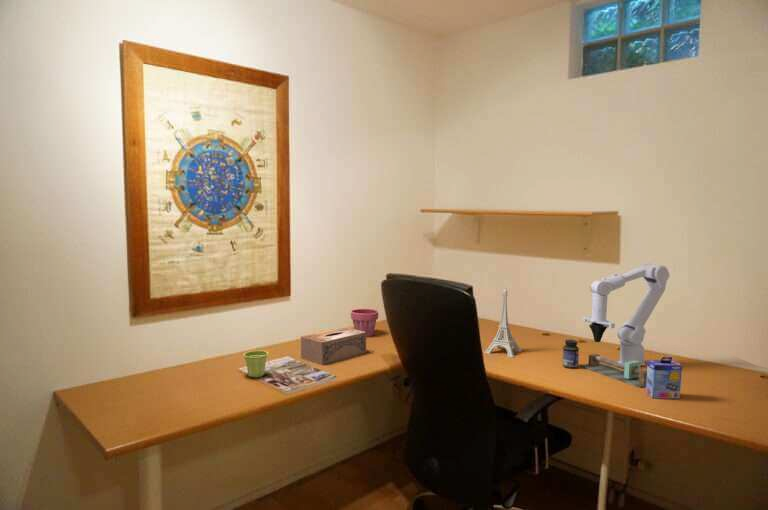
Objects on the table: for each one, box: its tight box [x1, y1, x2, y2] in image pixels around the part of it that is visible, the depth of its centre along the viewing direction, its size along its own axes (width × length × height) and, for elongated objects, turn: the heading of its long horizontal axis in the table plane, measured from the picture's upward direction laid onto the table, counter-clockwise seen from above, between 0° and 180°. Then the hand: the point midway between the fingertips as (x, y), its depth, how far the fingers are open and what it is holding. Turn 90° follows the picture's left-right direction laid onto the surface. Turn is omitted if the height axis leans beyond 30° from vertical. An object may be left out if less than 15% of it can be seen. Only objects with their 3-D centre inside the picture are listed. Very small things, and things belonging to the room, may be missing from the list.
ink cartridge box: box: [645, 356, 683, 400], centre depth 179 cm, size 10×6×14 cm, turn 90°
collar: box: [623, 360, 641, 379], centre depth 196 cm, size 2×6×6 cm, turn 115°
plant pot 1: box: [243, 350, 269, 378], centre depth 200 cm, size 9×9×9 cm
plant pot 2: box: [350, 308, 379, 338], centre depth 265 cm, size 14×14×13 cm
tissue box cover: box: [300, 326, 367, 366], centre depth 227 cm, size 26×14×10 cm, turn 136°
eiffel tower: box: [484, 287, 523, 358], centre depth 234 cm, size 13×13×30 cm
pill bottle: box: [562, 339, 580, 370], centre depth 212 cm, size 6×6×11 cm
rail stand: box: [580, 353, 647, 389], centre depth 202 cm, size 28×10×5 cm, turn 25°
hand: (597, 341), depth 213 cm, fingers closed
